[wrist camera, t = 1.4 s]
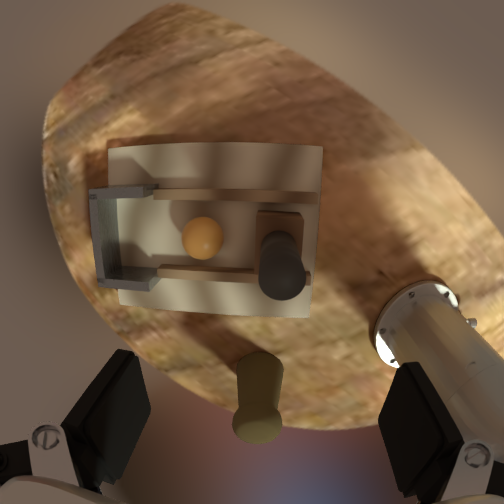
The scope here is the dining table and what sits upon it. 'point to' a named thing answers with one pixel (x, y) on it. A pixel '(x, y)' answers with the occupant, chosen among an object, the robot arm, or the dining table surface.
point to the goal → (116, 239)
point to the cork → (258, 398)
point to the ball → (202, 238)
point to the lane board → (219, 209)
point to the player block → (279, 254)
